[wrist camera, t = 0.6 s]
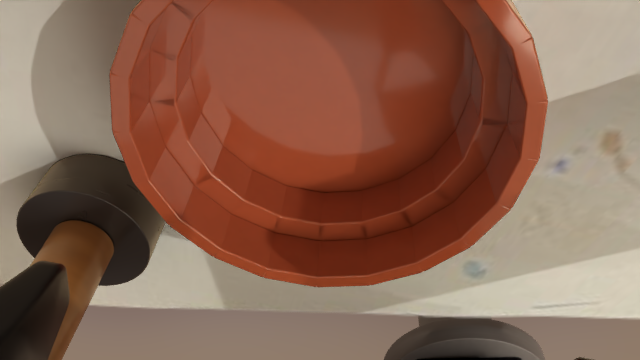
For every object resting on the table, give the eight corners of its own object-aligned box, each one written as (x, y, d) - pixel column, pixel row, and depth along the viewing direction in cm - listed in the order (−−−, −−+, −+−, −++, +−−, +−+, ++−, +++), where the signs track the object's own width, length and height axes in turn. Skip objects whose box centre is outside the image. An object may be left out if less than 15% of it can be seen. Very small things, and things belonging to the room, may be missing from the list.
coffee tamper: (180, 244, 27) (110, 436, 19) (72, 249, 28) (-36, 436, 20) (144, 149, 23) (42, 339, 16) (21, 157, 24) (-131, 343, 17)
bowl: (498, 202, 24) (521, 281, 20) (203, 216, 26) (178, 292, 22) (533, -147, 16) (581, -116, 12) (101, -94, 18) (35, -52, 14)
